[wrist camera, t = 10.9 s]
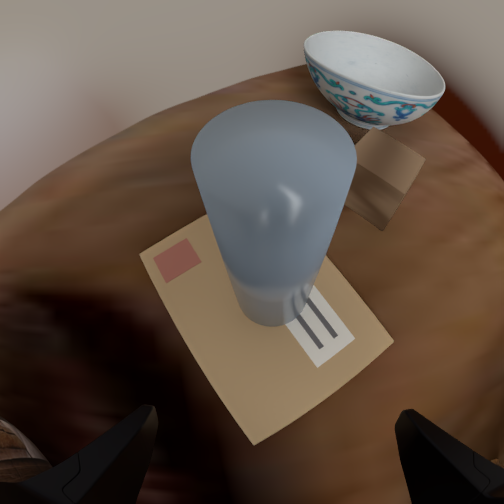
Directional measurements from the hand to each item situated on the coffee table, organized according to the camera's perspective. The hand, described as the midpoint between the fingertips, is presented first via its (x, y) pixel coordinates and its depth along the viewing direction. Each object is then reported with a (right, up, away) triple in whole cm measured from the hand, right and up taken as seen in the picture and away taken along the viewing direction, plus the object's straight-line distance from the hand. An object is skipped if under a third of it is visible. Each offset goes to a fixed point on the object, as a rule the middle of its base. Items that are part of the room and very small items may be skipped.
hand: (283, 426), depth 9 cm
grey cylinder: (0, +3, +11) cm, 12 cm away
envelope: (-1, +3, +11) cm, 11 cm away
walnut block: (+9, +11, +15) cm, 20 cm away
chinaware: (+12, +22, +20) cm, 32 cm away
